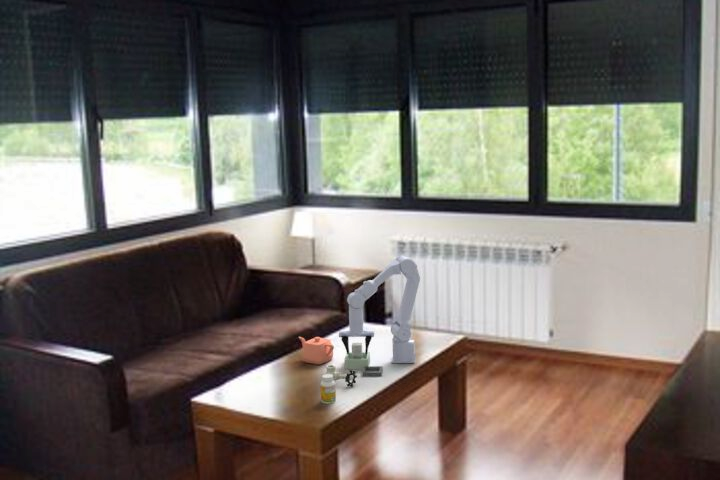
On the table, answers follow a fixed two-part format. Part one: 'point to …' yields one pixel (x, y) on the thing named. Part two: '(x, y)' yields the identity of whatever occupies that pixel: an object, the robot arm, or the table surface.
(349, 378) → the valve
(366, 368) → the socket
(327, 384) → the supplement bottle
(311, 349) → the teapot
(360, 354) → the strut
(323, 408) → the table surface
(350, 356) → the bin
